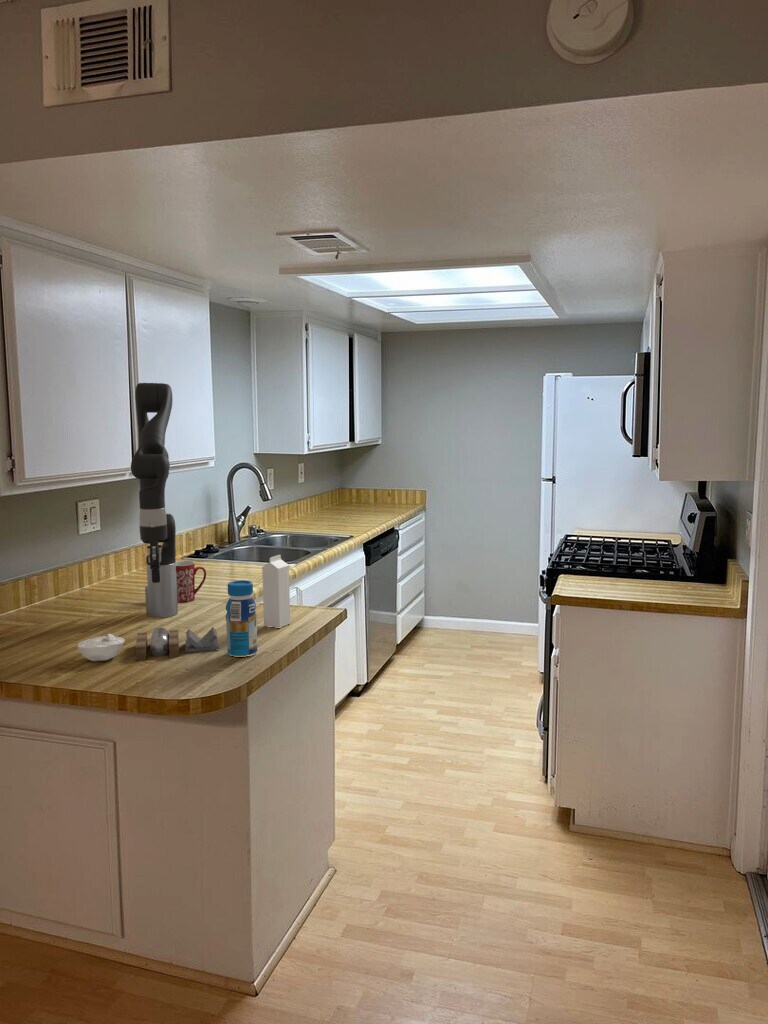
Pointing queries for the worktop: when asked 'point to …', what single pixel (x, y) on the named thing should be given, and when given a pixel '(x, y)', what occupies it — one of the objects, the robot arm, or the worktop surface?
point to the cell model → (101, 647)
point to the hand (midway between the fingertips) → (156, 582)
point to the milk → (276, 592)
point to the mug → (187, 580)
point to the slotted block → (142, 645)
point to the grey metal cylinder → (159, 642)
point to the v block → (201, 641)
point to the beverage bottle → (241, 619)
